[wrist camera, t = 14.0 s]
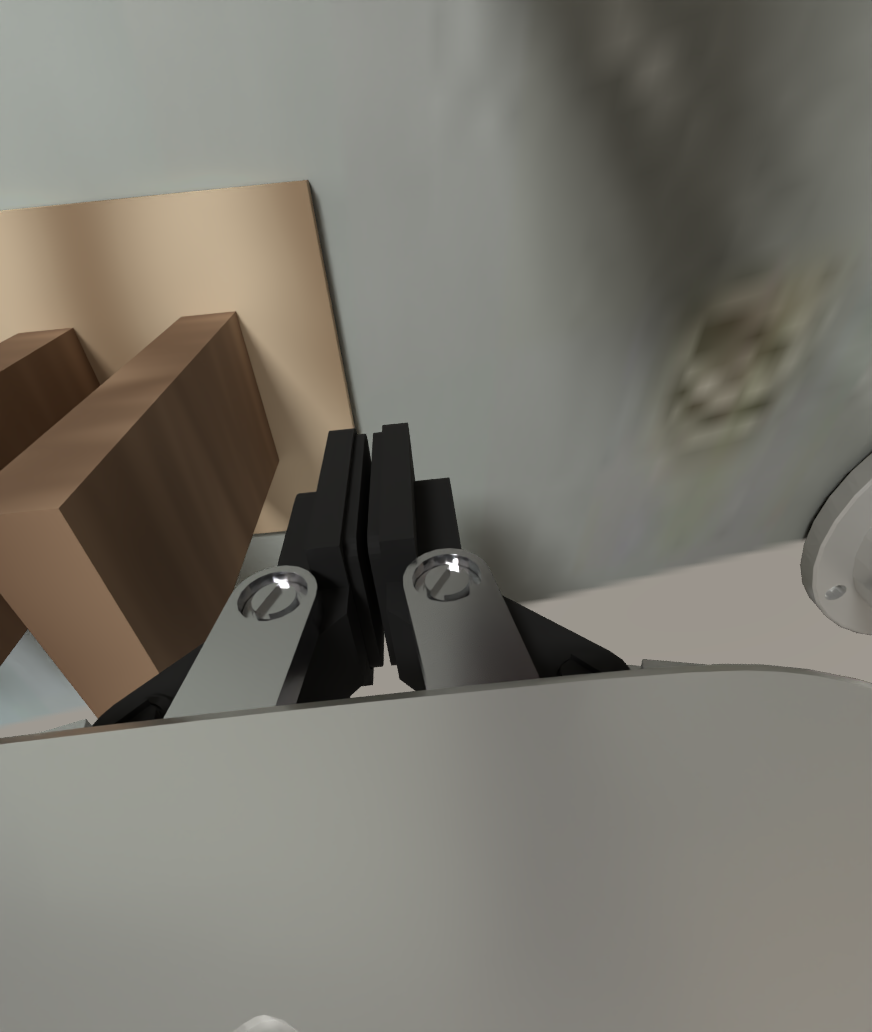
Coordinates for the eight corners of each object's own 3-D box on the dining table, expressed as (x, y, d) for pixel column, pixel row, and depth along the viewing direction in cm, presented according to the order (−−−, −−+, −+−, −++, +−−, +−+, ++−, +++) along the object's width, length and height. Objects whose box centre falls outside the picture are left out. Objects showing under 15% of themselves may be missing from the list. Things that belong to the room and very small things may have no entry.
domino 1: (235, 311, 15) (58, 508, 7) (279, 460, 18) (187, 718, 10) (180, 316, 15) (-57, 520, 7) (233, 465, 18) (104, 727, 10)
